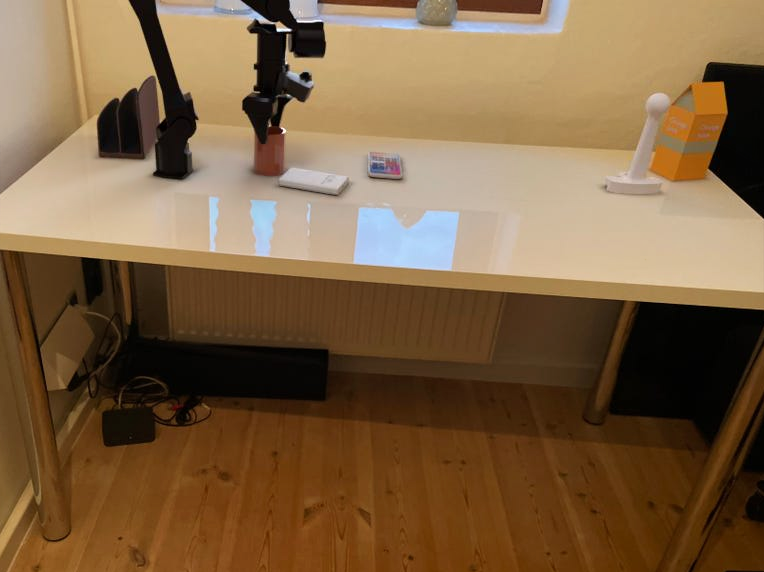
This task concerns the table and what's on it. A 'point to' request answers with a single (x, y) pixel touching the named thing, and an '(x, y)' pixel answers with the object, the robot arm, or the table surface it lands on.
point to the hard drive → (314, 181)
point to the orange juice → (691, 132)
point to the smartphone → (384, 165)
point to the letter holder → (129, 123)
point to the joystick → (642, 154)
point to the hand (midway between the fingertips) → (269, 137)
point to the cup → (270, 152)
